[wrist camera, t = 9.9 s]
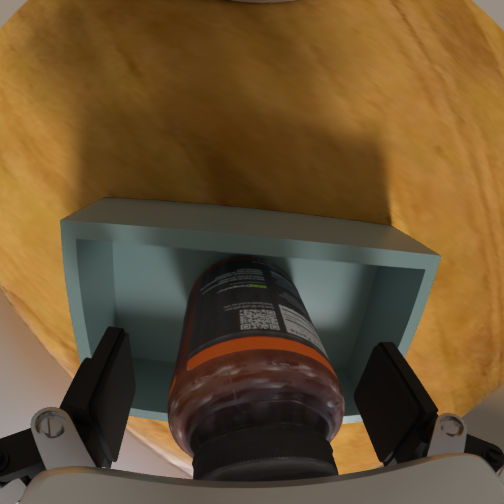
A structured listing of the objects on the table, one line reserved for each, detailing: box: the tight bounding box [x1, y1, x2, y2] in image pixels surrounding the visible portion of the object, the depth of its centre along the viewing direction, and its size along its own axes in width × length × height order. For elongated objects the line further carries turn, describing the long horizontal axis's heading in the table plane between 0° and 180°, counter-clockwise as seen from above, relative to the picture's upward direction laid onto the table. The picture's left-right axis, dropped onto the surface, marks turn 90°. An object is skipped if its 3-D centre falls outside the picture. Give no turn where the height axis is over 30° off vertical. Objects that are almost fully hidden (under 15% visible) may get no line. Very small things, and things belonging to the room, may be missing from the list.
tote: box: [60, 197, 441, 424], centre depth 15 cm, size 10×16×5 cm, turn 83°
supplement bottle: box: [167, 256, 345, 482], centre depth 12 cm, size 6×6×11 cm
